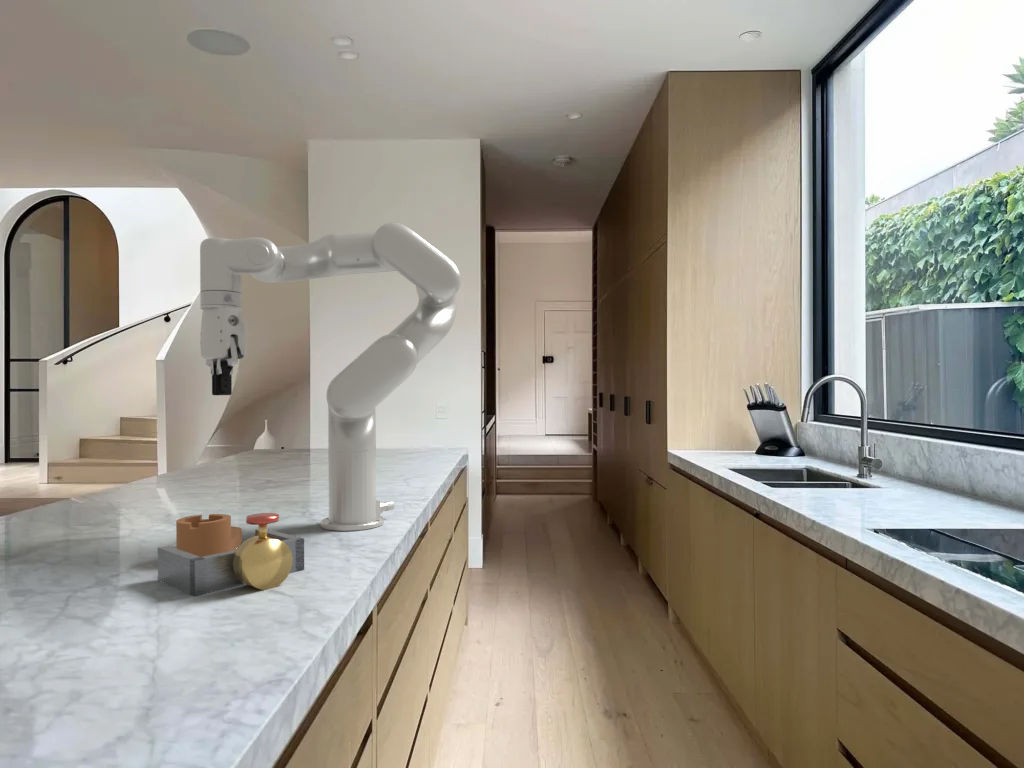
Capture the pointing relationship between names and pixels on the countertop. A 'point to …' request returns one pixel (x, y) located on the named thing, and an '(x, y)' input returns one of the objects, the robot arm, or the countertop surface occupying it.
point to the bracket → (207, 534)
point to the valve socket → (235, 562)
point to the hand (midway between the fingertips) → (221, 394)
